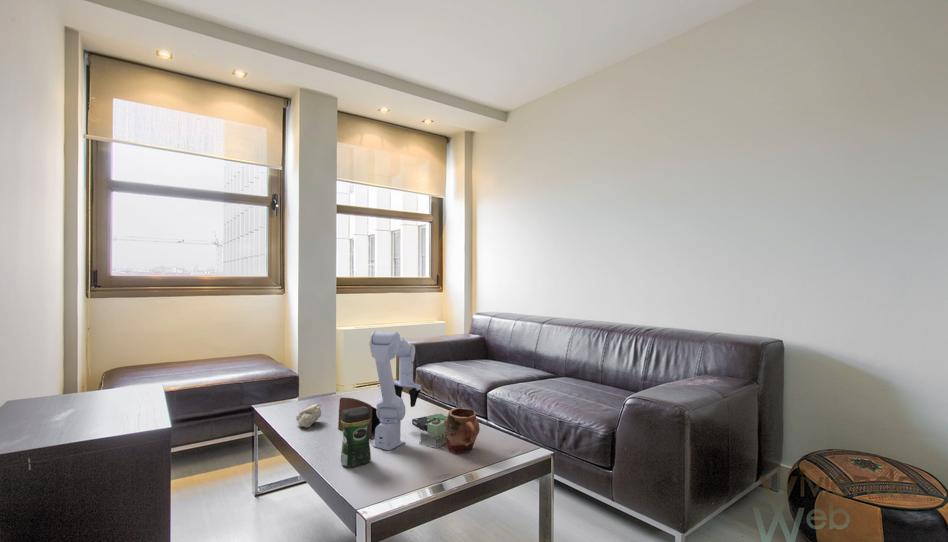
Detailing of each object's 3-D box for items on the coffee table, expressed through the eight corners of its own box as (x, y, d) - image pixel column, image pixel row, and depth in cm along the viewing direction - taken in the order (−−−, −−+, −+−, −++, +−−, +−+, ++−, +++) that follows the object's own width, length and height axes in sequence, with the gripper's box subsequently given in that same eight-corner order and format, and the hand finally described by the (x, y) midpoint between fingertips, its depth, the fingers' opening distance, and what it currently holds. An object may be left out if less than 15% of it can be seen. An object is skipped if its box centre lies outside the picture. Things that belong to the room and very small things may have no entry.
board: (437, 436, 166) (437, 423, 166) (427, 434, 169) (427, 421, 169) (447, 431, 172) (447, 418, 172) (437, 429, 175) (438, 416, 175)
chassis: (436, 448, 163) (436, 436, 163) (419, 443, 167) (419, 432, 167) (454, 437, 173) (454, 427, 174) (437, 433, 178) (438, 423, 178)
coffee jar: (364, 455, 156) (364, 402, 156) (373, 463, 149) (374, 408, 150) (337, 462, 150) (338, 407, 150) (345, 470, 144) (346, 413, 144)
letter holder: (370, 440, 170) (370, 404, 171) (337, 429, 182) (338, 395, 182) (389, 433, 179) (389, 398, 179) (356, 423, 190) (357, 390, 190)
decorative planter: (491, 457, 156) (491, 418, 155) (461, 464, 149) (462, 424, 149) (462, 437, 173) (463, 402, 172) (434, 443, 166) (435, 407, 166)
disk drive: (423, 432, 181) (453, 425, 190) (423, 425, 181) (453, 418, 190) (411, 425, 189) (440, 418, 198) (411, 419, 189) (440, 412, 198)
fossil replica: (295, 431, 180) (320, 430, 183) (297, 411, 180) (322, 410, 183) (295, 419, 191) (319, 419, 195) (297, 401, 191) (321, 400, 194)
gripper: (425, 372, 183) (425, 405, 183) (398, 368, 191) (398, 400, 191) (415, 375, 177) (414, 409, 177) (387, 371, 185) (387, 403, 184)
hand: (405, 404), depth 183 cm, fingers open, 7 cm apart
